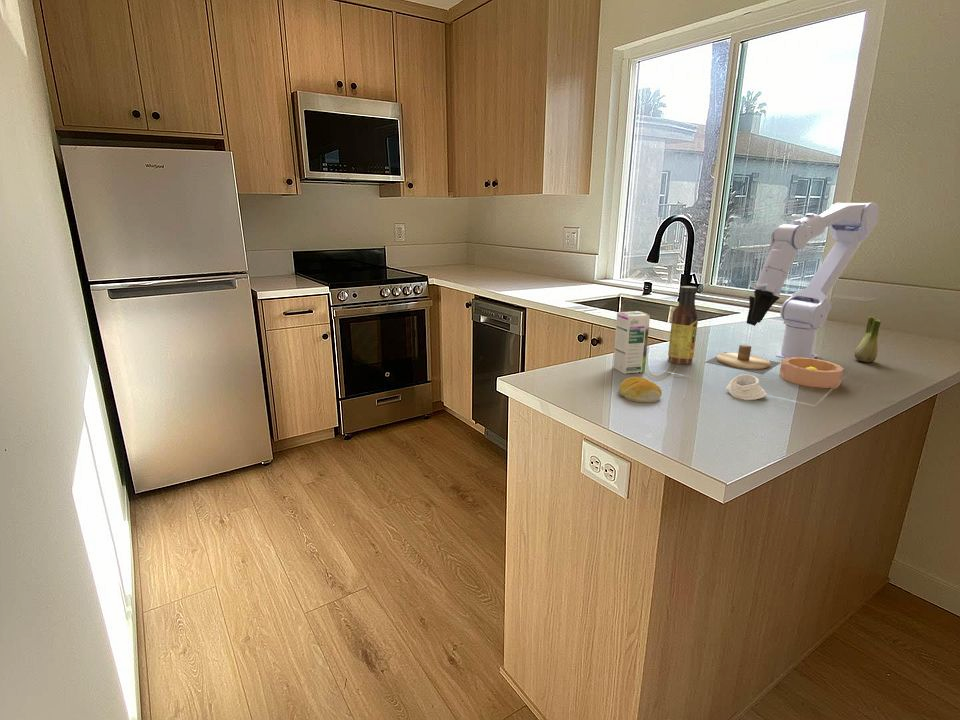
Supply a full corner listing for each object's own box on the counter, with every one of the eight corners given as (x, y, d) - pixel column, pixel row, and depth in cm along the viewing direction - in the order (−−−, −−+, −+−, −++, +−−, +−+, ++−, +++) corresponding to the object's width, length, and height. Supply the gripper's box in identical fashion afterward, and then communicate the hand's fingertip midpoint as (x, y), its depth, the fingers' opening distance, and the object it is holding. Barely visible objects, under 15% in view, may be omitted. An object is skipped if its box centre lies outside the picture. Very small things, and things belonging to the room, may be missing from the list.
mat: (725, 353, 146) (725, 352, 146) (780, 364, 137) (780, 362, 137) (704, 363, 137) (705, 361, 136) (762, 375, 127) (762, 373, 127)
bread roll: (644, 388, 118) (646, 371, 117) (666, 402, 109) (669, 384, 108) (610, 390, 116) (612, 373, 115) (630, 405, 108) (632, 386, 106)
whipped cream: (769, 401, 113) (775, 379, 112) (758, 405, 109) (764, 383, 108) (732, 389, 119) (737, 368, 118) (720, 393, 114) (725, 372, 113)
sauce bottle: (694, 366, 134) (705, 289, 128) (669, 365, 135) (678, 288, 129) (690, 359, 140) (699, 285, 134) (665, 358, 141) (674, 284, 135)
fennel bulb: (873, 365, 137) (883, 320, 134) (850, 361, 140) (860, 317, 137) (876, 360, 141) (887, 317, 138) (855, 357, 144) (864, 314, 141)
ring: (788, 369, 132) (791, 354, 131) (844, 380, 124) (847, 364, 123) (773, 380, 124) (776, 364, 123) (832, 392, 116) (836, 375, 115)
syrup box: (624, 374, 127) (629, 315, 123) (612, 367, 132) (617, 310, 128) (645, 372, 128) (651, 314, 124) (632, 365, 134) (637, 310, 130)
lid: (726, 353, 145) (729, 337, 144) (776, 362, 137) (779, 346, 135) (708, 361, 136) (711, 345, 135) (760, 372, 128) (763, 355, 127)
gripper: (753, 272, 138) (733, 320, 139) (762, 260, 124) (739, 314, 126) (782, 280, 136) (761, 329, 137) (794, 269, 122) (770, 324, 123)
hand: (752, 322), depth 131 cm, fingers open, 7 cm apart
